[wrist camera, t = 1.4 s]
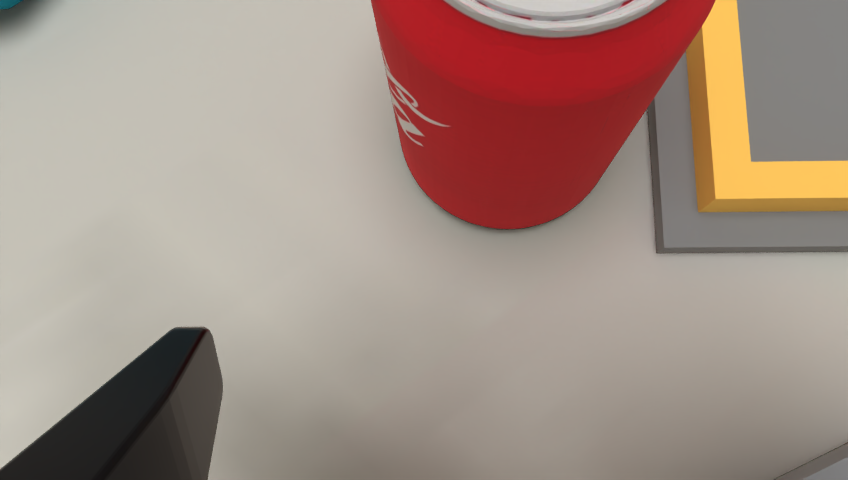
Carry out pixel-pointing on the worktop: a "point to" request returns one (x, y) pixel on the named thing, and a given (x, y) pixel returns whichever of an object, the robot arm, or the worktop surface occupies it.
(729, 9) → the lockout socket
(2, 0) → the ice cube tray
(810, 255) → the worktop surface
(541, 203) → the beverage can
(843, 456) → the indicator board
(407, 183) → the worktop surface
